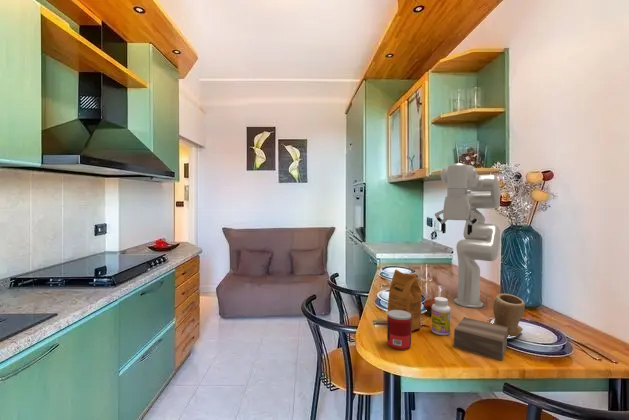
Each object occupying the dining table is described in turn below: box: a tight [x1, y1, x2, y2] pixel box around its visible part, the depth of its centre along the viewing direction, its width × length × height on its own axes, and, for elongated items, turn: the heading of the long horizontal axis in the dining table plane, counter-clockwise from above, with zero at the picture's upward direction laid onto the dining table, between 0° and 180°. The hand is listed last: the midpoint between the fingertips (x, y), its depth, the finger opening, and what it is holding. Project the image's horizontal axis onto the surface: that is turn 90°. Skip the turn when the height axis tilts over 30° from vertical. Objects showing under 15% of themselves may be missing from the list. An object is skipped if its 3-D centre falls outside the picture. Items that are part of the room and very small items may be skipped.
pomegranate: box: [423, 298, 435, 317], centre depth 129 cm, size 7×7×10 cm
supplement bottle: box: [430, 296, 452, 336], centre depth 111 cm, size 7×7×13 cm
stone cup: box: [492, 293, 526, 337], centre depth 110 cm, size 15×12×15 cm
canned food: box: [386, 310, 412, 351], centre depth 101 cm, size 8×8×11 cm
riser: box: [453, 316, 508, 361], centre depth 101 cm, size 14×14×6 cm
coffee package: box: [387, 269, 422, 332], centre depth 116 cm, size 10×12×22 cm
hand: (456, 233), depth 123 cm, fingers open, 9 cm apart
